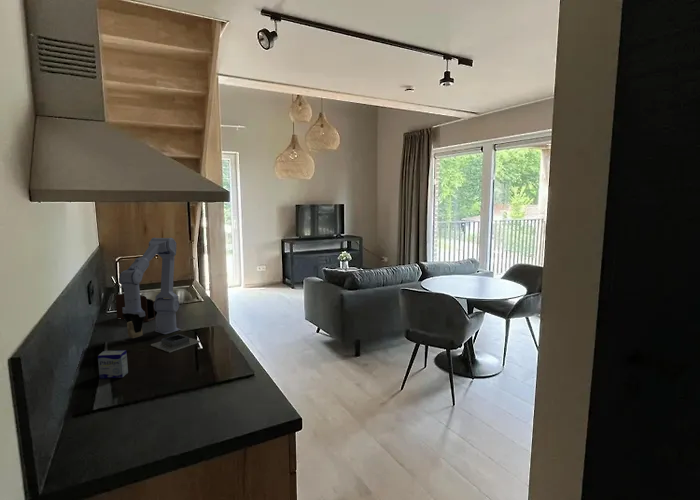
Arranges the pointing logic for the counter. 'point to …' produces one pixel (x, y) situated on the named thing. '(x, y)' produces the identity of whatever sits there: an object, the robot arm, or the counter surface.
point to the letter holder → (145, 305)
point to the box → (112, 364)
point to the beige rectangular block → (132, 331)
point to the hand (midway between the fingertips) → (135, 331)
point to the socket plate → (174, 343)
